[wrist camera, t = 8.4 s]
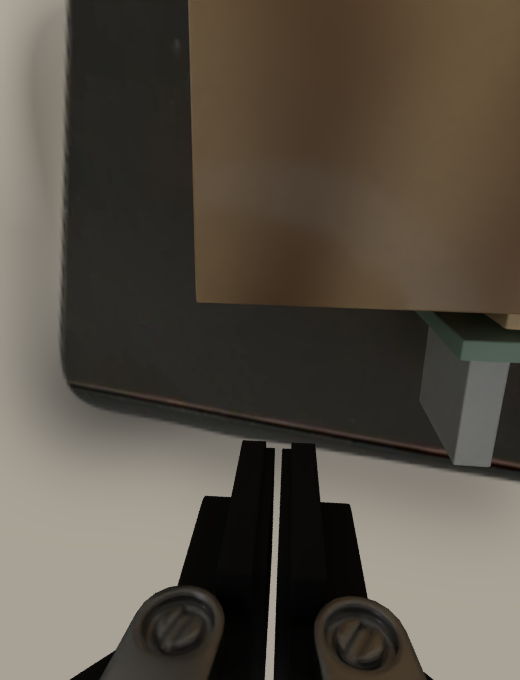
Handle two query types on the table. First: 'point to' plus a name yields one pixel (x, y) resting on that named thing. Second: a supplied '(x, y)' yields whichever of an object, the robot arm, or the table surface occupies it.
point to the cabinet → (357, 154)
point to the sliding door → (466, 381)
